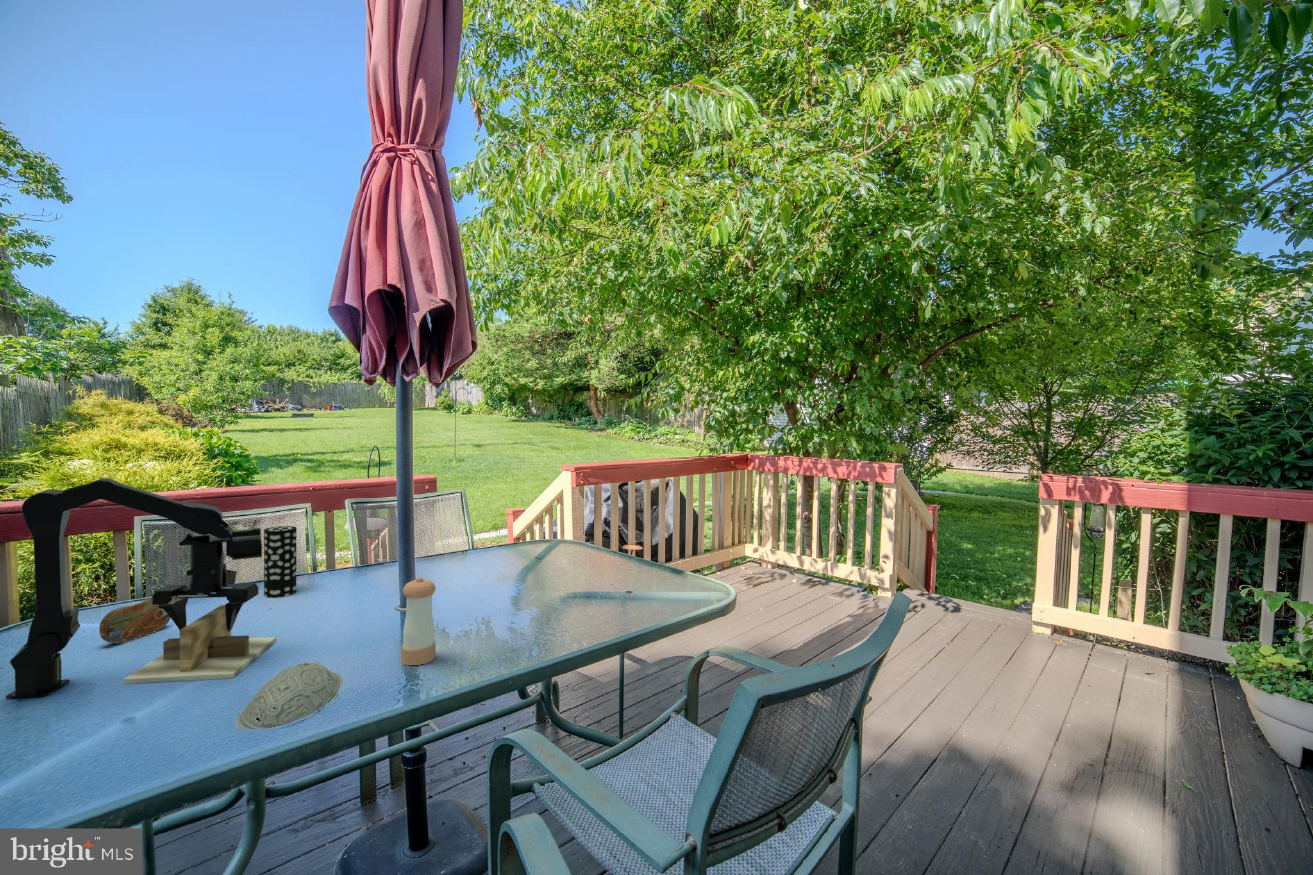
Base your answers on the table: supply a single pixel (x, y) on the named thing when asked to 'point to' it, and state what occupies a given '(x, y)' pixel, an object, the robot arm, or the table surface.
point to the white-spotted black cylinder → (280, 561)
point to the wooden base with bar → (221, 663)
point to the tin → (132, 622)
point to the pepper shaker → (418, 623)
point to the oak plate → (201, 638)
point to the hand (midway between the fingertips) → (206, 631)
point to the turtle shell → (290, 696)
